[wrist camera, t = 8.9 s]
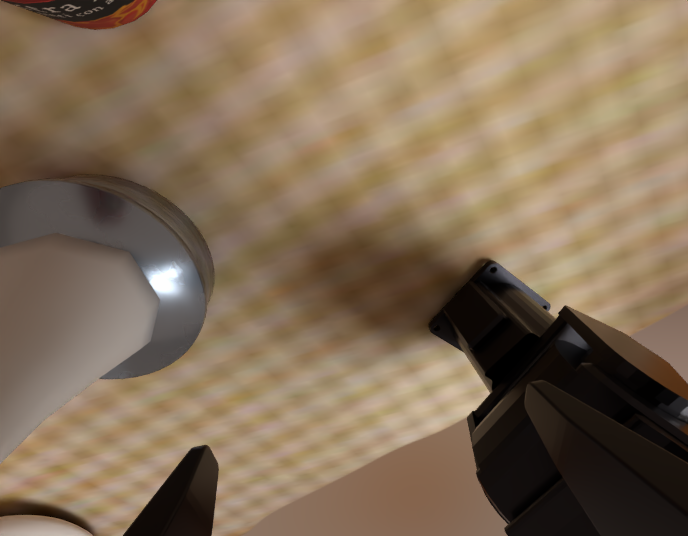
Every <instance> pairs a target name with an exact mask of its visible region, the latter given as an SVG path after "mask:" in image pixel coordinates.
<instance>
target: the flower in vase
mask: <svg viewBox="0 0 688 536" xmlns="http://www.w3.org/2000/svg"><path fill="white" fill-rule="evenodd" d="M0 536H93V535H92V534H91V533H89V532H88V531H87V530H85V529H83V528H81V527H79V526H77V525H75V524H73V523H70V522H68V521H65V520H62V519H58V518H54V517H48V516H38V515H12V516H3V517H0Z"/></svg>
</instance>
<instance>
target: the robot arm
mask: <svg viewBox="0 0 688 536" xmlns="http://www.w3.org/2000/svg"><path fill="white" fill-rule="evenodd" d="M492 267H494V269H493V270H492V271H490V269H491V268H492ZM542 306H543V307H542ZM549 310H550V304H549V303H548V302H547V301H546V300H544V299H543V298H542V297H541V296H539V295H538V294H537V293H535V292H534V291H533V290H531V289H530V288H529V287H528V286H526V285H525V284H524V283H522V282H521V281H520V280H519V279H517V278H516V277H515V276H513V275H512V274H511V273H510V272H508V271H507V270H506V269H504V268H503V267H502V266H500V265H499V264H498V263H497V262H495V261H489V262H487V263H486V264H485V265H484V266H483V267H482V268H481V269H480V270H479V271H478V272H477V273H476V274H475V275H474V276H473V278H472V279H471V280H470V281H469V282H468V283H467V284H466V285H465V286H464V287H463V288H462V289H461V290H460V291H459V292H458V293H457V294H456V295H455V296H454V298H453V299H452V300H451V301H450V302H449V303H448V304H447V305H446V306H445V307H444V308H443V309H442V310H441V311H440V312H439V313H438V314H437V315H436V316H435V317H434V319H433V320H432V321H431V322H430V323H429V326H428V327H429V329H430V331H431V332H432V333H433V334H434V335H436V336H438V337H439V338H441V339H443V340H444V341H446V342H448V343H449V344H451V345H453V346H454V347H456V348H458V349H459V350H461V351H463V352H464V353H465V354H466V356H467V358H468V359H469V361H470V362H471V364H472V365H473V367H474V368H475V370H476V372H477V373H478V375H479V376H480V378H481V379H482V381H483V382H484V384H485V385H486V387H487V389H488V390H489V392H490V395H489V396H488V397H487V398H486V399H485V400H484V401H483V402H482V404H481V405H480V406H479V407H478V408H477V409H476V410H475V411H472V412H471V413H470V414H469V416H468V417H467V421H468V426H469V431H470V437H471V442H472V448H473V452H474V457H475V462H476V467H477V471H476V474H477V478H478V481H479V483H480V484H481V486H482V488H483V491H484V493H485V495H486V497H487V498H488V500H489V502H490V503H491V505H492V506H493V507H494V509H495V510H496V511H497V513H498V514H499V515H500V516H501V517H502V518H503V519H504V520H505V521H506V523H507V524H508V525H507V526H506V527H505V532H506V534H507V535H508V536H688V383H686V381H685V380H684V379H683V378H682V377H681V376H680V375H679V374H678V372H677V371H676V370H675V369H674V368H673V367H672V366H671V365H670V364H669V363H668V362H667V361H665V360H664V359H662V358H661V357H659V356H658V355H656V354H655V353H653V352H652V351H650V350H649V349H647V348H646V347H644V346H643V345H641V344H640V343H638V342H637V341H635V340H634V339H632V338H631V337H629V336H628V335H626V334H624V333H623V332H621V331H618V330H616V329H614V328H612V327H610V326H608V325H606V324H604V323H602V322H600V321H597V320H595V319H593V318H591V317H589V316H587V315H585V314H583V313H581V312H579V311H576V310H574V309H572V308H570V307H568V306H566V305H565V306H564V307H563V308H562V310H561V311H560V312H559V313H558V314H559V316H558V317H557V318H555V317H554V316H552V315H551V314H550V313H549V312H548V311H549ZM435 326H438V327H436V328H434V327H435ZM218 471H219V468H218V463H217V460H216V459H215V457H214V455H213V453H212V451H211V449H210V447H209V446H207V445H202V446H197V447H193V448H192V449H191V450H190V451H189V452H188V453H187V454H186V456H185V457H184V458H183V459H182V461H181V462H180V463H179V464H178V466H177V467H176V468H175V470H174V471H173V472H172V473H171V475H170V476H169V477H168V478H167V480H166V481H165V482H164V484H163V485H162V486H161V487H160V489H159V490H158V491H157V492H156V494H155V495H154V496H153V498H152V499H151V500H150V501H149V503H148V504H147V505H146V507H145V508H144V509H143V510H142V512H141V513H140V514H139V515H138V517H137V518H136V519H135V521H134V522H133V523H132V524H131V526H130V527H129V528H128V529H127V531H126V532H125V533H124V535H123V536H211V535H212V528H213V519H214V509H215V500H216V491H217V481H218Z"/></svg>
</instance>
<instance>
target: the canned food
mask: <svg viewBox="0 0 688 536" xmlns="http://www.w3.org/2000/svg"><path fill="white" fill-rule="evenodd" d="M1 1H4V2H7V3H10V4H13V5H16V6H18V7H21V8H24V9H27V10H30V11H33V12H35V13H38V14H41V15H44V16H47V17H50V18H52V19H55V20H58V21H61V22H64V23H67V24H70V25H72V26H75V27H81V28H88V29H94V30H96V29H110V28H115V27H118V26H121V25H124V24H127V23H130V22H132V21H135V20H136V19H138V18H139V17H141V16H142V15H143V14H145V13H146V12H148V10H149V9H150V8H151V7H152V6H153V4H154V3H155V2H156V1H157V0H1Z"/></svg>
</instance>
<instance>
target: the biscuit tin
mask: <svg viewBox="0 0 688 536" xmlns="http://www.w3.org/2000/svg"><path fill="white" fill-rule="evenodd" d="M53 233H59V234H63V235H67V236H71V237H75V238H78V239H82V240H86V241H90V242H94V243H97V244H101V245H105V246H109V247H112V248H116V249H120V250H124V251H128V252H130V254H131V255H132V257H133V258H134V260H135V261H136V263H137V264H138V266H139V268H140V269H141V271H142V272H143V274H144V275H145V277H146V278H147V280H148V282H149V283H150V285H151V286H152V288H153V289H154V291H155V292H156V294H157V295H158V297H159V299H160V303H159V308H158V312H157V316H156V320H155V324H154V329H153V333H152V337H151V341H150V342H149V343H148V344H146V345H145V346H144V347H142V348H141V349H140V350H138V351H137V352H136V353H134V354H133V355H131V356H130V357H129V358H127V359H126V360H124V361H123V362H121V363H120V364H119V365H117V366H116V367H114V368H113V369H111V370H110V371H109V372H107V373H106V374H104V375H103V376H101V377H100V378H99V379H125V378H132V377H138V376H142V375H146V374H150V373H152V372H155V371H158V370H160V369H162V368H164V367H166V366H168V365H170V364H172V363H173V362H175V361H176V360H177V359H179V358H180V357H181V356H182V355H183V354H184V353H186V352H187V351H188V349H189V348H190V347H191V346H192V344H193V343H194V341H195V340H196V338H197V336H198V334H199V332H200V330H201V328H202V326H203V323H204V320H205V317H206V311H207V305H208V303H209V301H210V298H211V295H212V292H213V287H214V266H213V261H212V257H211V254H210V251H209V248H208V246H207V244H206V242H205V240H204V238H203V236H202V235H201V233H200V232H199V230H198V229H197V227H196V226H195V225H194V224H193V222H192V221H191V220H190V219H189V218H188V217H187V216H186V215H185V214H184V213H183V212H182V211H181V210H180V209H179V208H178V207H177V206H175V205H174V204H173V203H172V202H170V201H169V200H167V199H166V198H164V197H163V196H161V195H160V194H158V193H156V192H154V191H152V190H150V189H149V188H147V187H145V186H142V185H139V184H137V183H134V182H132V181H128V180H125V179H121V178H117V177H111V176H104V175H79V176H71V177H67V178H63V179H40V180H30V181H25V182H21V183H17V184H13V185H9V186H5V187H2V188H0V248H1V247H4V246H8V245H12V244H16V243H19V242H23V241H27V240H30V239H34V238H38V237H41V236H45V235H49V234H53Z"/></svg>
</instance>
